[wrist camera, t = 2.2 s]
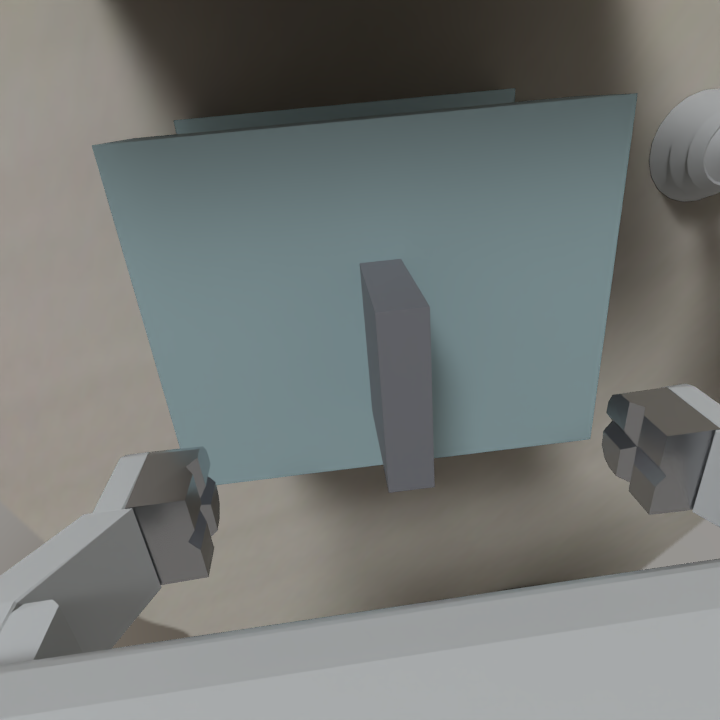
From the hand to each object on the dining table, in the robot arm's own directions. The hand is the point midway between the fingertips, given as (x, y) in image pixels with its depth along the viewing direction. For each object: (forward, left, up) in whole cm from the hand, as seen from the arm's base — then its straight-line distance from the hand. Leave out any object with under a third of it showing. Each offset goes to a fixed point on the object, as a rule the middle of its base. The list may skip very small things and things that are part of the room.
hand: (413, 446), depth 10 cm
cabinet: (+1, 0, -17) cm, 17 cm away
